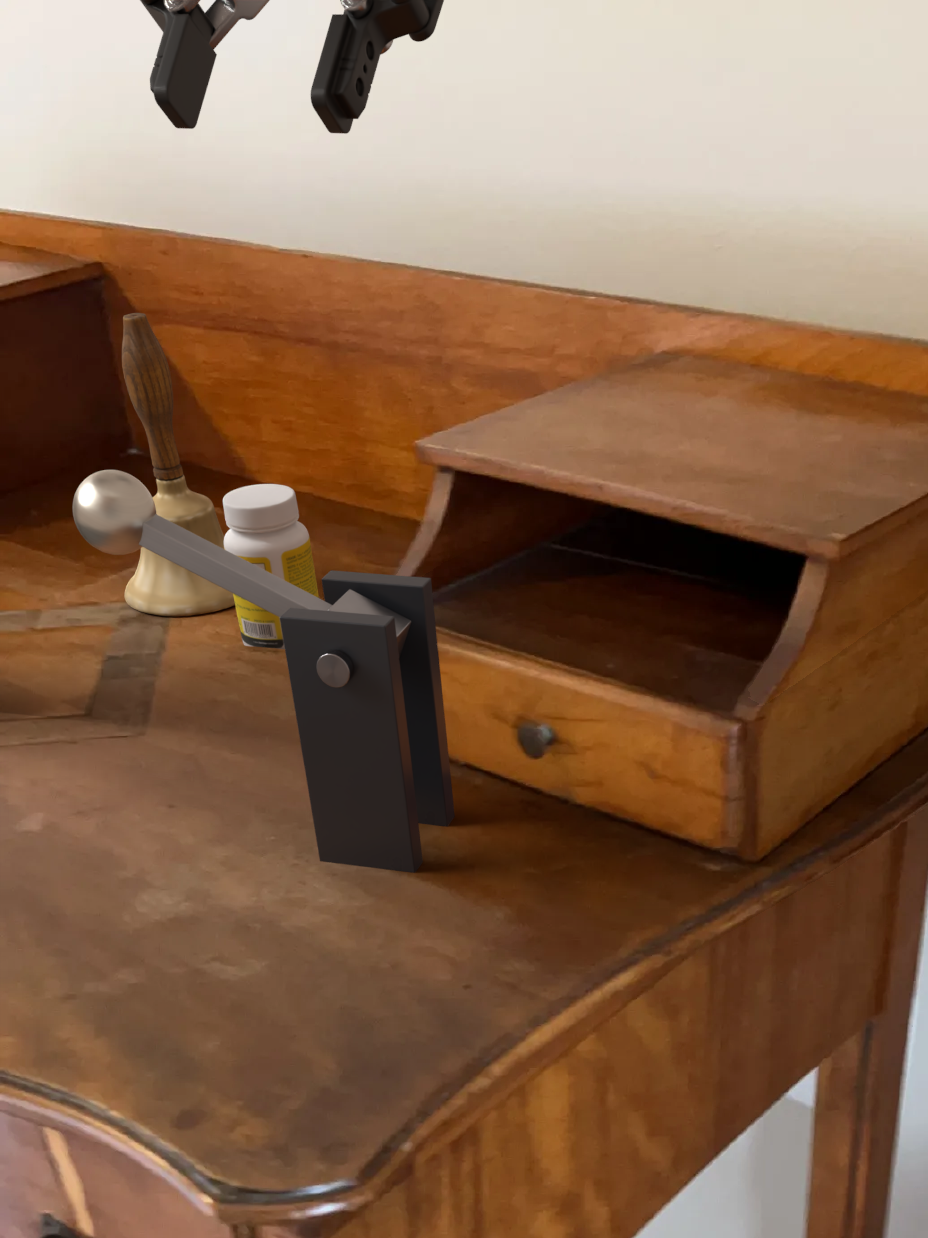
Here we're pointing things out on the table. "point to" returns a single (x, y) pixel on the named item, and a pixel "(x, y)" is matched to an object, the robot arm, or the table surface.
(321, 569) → the table surface
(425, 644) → the bracket
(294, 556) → the supplement bottle
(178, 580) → the hand bell
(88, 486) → the tap lever
